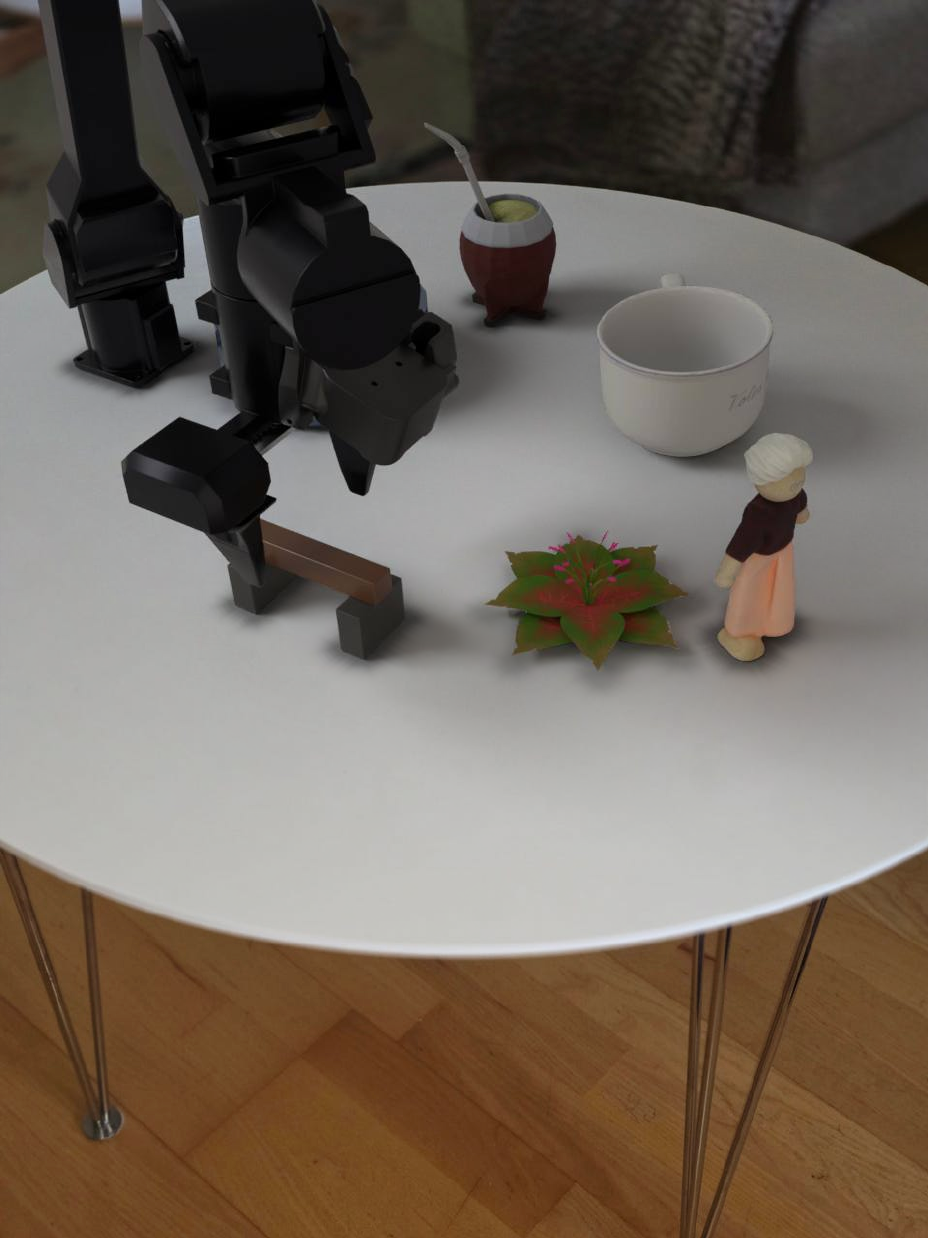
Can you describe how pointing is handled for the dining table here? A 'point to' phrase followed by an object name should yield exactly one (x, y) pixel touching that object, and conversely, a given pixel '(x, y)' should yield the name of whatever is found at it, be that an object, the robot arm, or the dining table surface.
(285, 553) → the stick
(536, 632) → the red green leafy plant
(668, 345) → the teacup
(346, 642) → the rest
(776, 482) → the grandmother figurine
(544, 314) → the mate gourd
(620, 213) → the dining table surface
